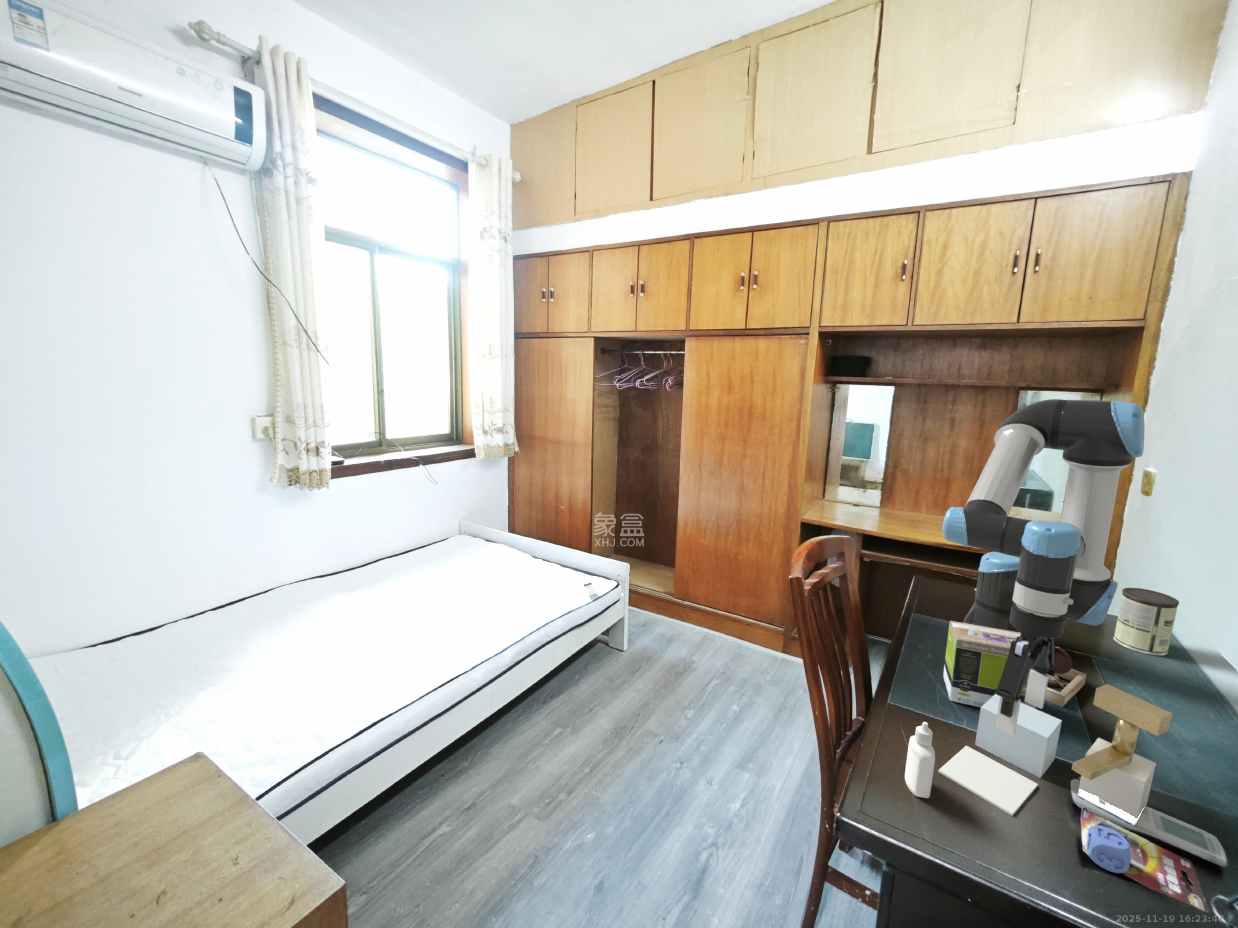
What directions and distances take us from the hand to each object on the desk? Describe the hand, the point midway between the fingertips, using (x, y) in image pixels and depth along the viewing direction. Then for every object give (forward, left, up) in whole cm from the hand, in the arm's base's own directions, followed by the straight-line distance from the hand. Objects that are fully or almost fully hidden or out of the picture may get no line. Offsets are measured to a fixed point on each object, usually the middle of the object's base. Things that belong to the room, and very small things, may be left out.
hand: (1019, 716), depth 94 cm
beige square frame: (-7, +32, -7) cm, 34 cm away
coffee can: (+3, +75, -8) cm, 76 cm away
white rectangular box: (+13, 0, -7) cm, 15 cm away
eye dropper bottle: (-6, -24, -8) cm, 26 cm away
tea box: (-10, +14, -8) cm, 19 cm away
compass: (-4, +35, -8) cm, 36 cm away
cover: (0, 0, -8) cm, 8 cm away
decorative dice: (+16, -15, -8) cm, 23 cm away
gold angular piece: (+12, -4, +1) cm, 13 cm away
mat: (0, -12, -7) cm, 14 cm away
